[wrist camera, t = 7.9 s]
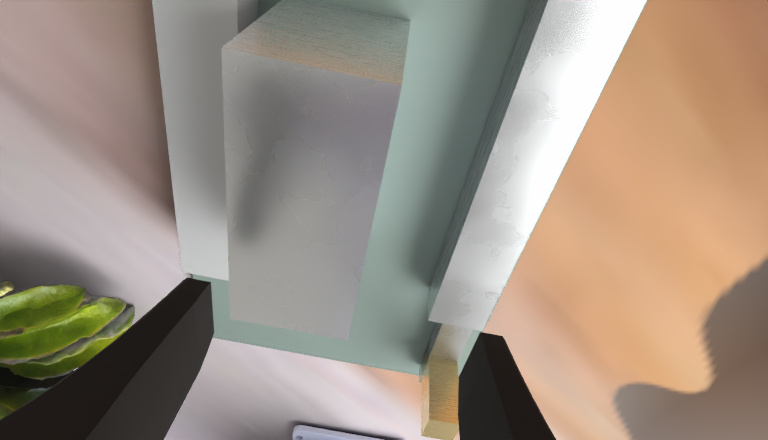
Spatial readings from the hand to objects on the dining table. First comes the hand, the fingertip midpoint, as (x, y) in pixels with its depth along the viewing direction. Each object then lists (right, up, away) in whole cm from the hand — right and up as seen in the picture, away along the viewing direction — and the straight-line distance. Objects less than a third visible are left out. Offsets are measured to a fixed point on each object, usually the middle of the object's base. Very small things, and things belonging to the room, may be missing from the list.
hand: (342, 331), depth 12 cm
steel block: (-1, +6, +5) cm, 8 cm away
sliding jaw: (+5, +3, +7) cm, 9 cm away
